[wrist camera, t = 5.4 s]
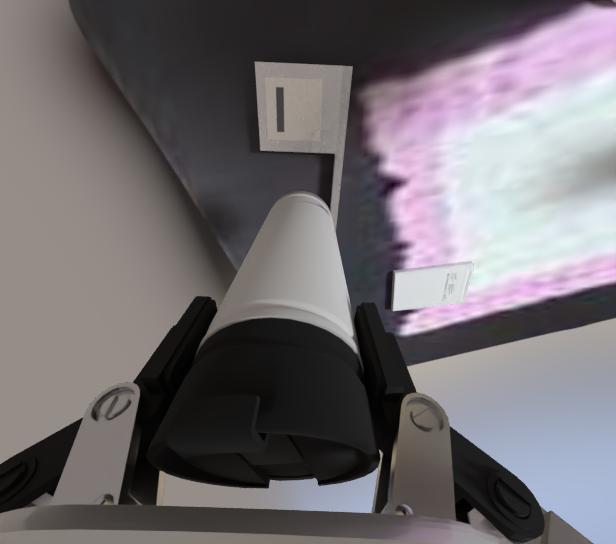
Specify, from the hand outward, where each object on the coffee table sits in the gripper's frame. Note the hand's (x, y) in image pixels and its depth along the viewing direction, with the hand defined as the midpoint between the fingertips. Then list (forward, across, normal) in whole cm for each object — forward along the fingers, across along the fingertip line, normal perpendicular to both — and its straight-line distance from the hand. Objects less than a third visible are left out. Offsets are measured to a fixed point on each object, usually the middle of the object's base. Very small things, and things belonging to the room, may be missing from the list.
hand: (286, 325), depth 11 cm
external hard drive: (+26, -22, +14) cm, 37 cm away
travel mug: (+14, 0, 0) cm, 14 cm away
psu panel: (+25, +1, +1) cm, 25 cm away
